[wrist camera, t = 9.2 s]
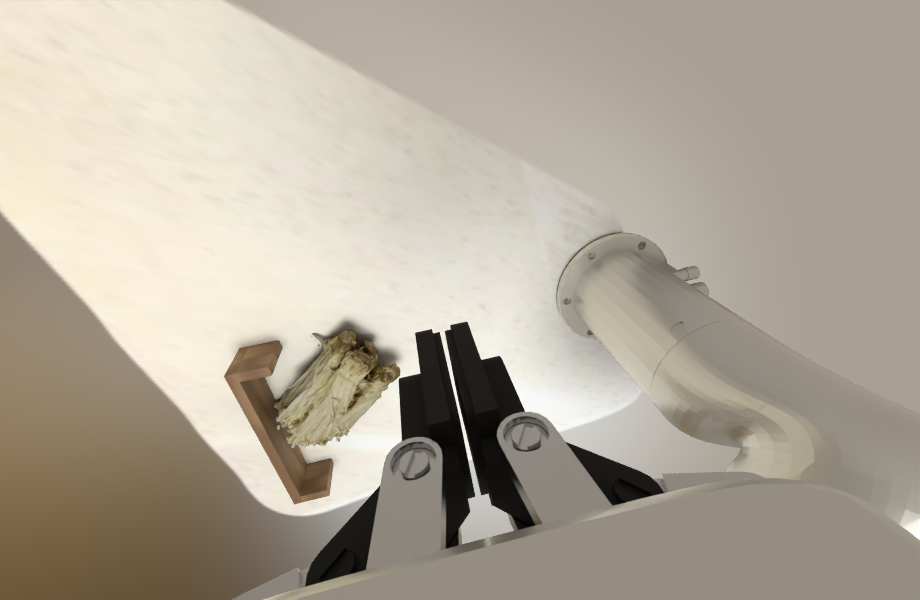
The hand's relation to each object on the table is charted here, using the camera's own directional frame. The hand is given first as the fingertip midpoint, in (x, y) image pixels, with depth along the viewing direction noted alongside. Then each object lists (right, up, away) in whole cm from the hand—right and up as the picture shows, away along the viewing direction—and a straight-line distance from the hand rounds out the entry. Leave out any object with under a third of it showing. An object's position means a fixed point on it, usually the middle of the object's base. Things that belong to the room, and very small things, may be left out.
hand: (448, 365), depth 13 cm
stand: (-19, -11, +33) cm, 40 cm away
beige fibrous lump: (-13, -6, +32) cm, 36 cm away
